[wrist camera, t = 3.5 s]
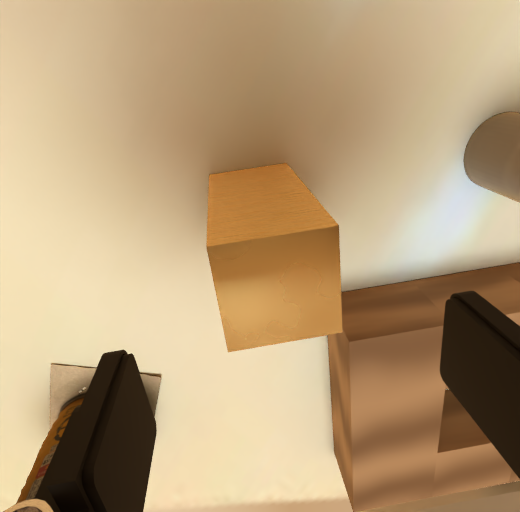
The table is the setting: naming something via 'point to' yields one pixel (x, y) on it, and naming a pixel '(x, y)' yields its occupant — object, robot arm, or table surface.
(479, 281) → the socket block
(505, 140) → the round peg
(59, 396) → the condiment
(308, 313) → the square peg
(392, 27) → the table surface
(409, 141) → the table surface
